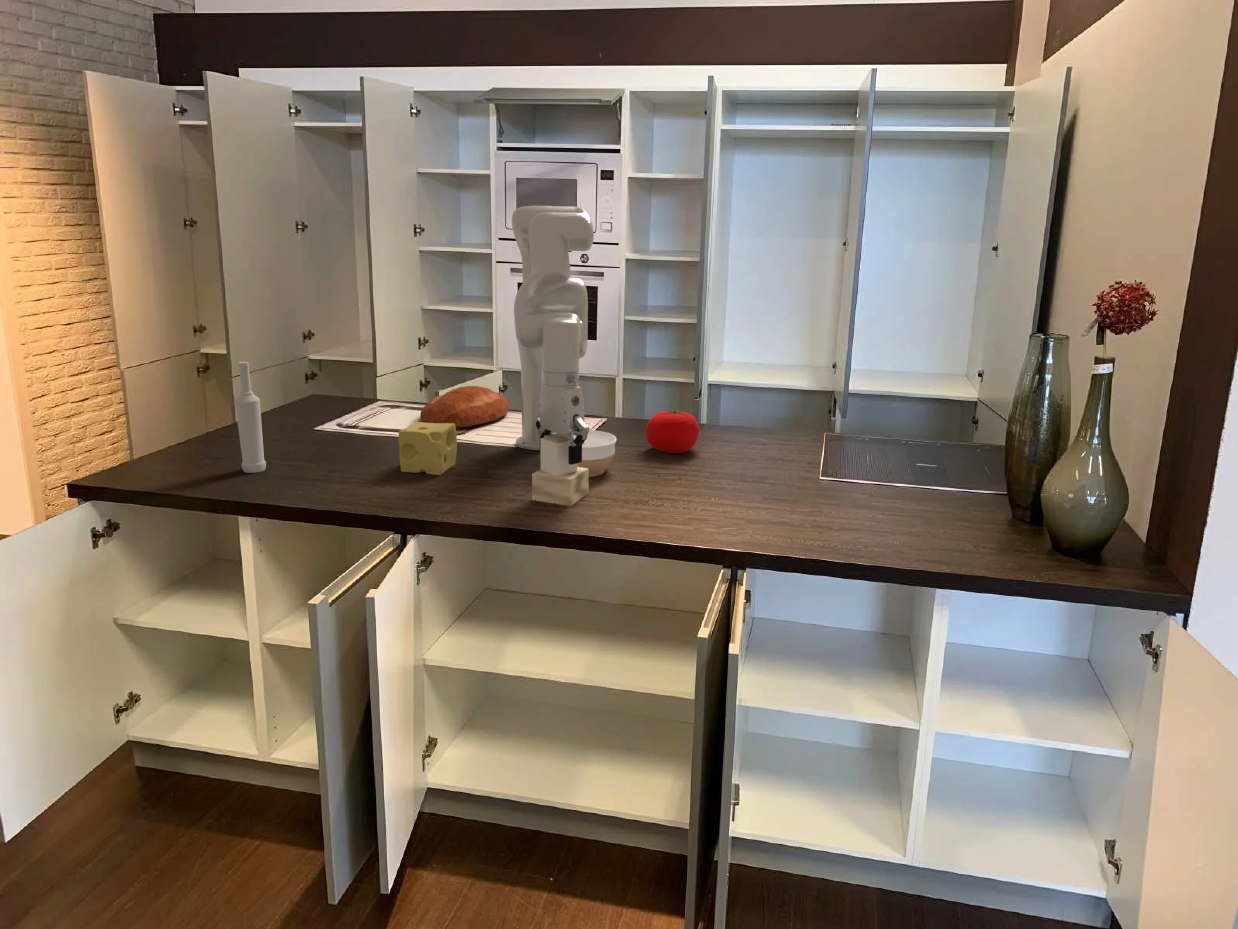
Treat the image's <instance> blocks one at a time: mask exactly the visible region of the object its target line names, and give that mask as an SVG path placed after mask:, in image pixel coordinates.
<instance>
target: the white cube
mask: <svg viewBox="0 0 1238 929" xmlns="http://www.w3.org/2000/svg"><path fill="white" fill-rule="evenodd" d="M540 440H541V454H540V469H541V471H544V472H547V473H550V474H552V475H555V476H560V475H564V474H568V473H572V472H577V464H572V465H571V464H569V463H568V447H569V446H570V445H571V444H570V442H569V440H568V438H567V436H566V435H562V434H559V433H556V434H551V435H546V436H544V438H540Z"/></svg>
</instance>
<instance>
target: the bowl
mask: <svg viewBox="0 0 1238 929" xmlns="http://www.w3.org/2000/svg"><path fill="white" fill-rule="evenodd" d="M570 431H571V430H570ZM554 434H556V433H554ZM573 437H574V439H575V438H576V436H575V435H573ZM616 442H617V437H616V436H615V435H614V434H612V433H610V432H606V431H601V430H595V429H589V432H588V435H587V439H586V440H585V441H584V444H583V445H582V462H581V463H577V467H582V468H589V478H592V477H597V476H600V475H602V474H604V473H605V471H606V470H607V468H608V467H609V466H610V465H611V464H612V462H613V461H614V458H615V452H616V449H615V448H616V447H615V445H616Z"/></svg>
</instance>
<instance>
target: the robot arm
mask: <svg viewBox="0 0 1238 929" xmlns="http://www.w3.org/2000/svg"><path fill="white" fill-rule="evenodd" d="M511 226H512V232H513V235H514V236H513V237H514V239H515V242H516V244H517V247H518V249H519V251H520V256H521V264H522V268H521V270H522V271H521V272H522V284H521V285H520V287H519V289H518V291H517V293H516V295H515V299H514V303H513V304H514V305H513V316H514V318H513V319H514V331H515V337H516V342H517V347H518V354H519V359H520V360H519V362H520V376H521V377H520V379H521V380H520V381H521V382H520V383H521V386H520V387H521V435H520V436H519V437H517V439H516V440H515V444H516V446H517V447H519V448H521V449H525V450H529V451H530V450H531V451H539V454H540V455H541V440H540V438H544V436H546V435H551V434H554V433H559V434H562V435H566V436H567V438H568V440H569V442H570V444H571V445H570V446H569V447H568V463H569V464H571V465H572V464H577V463H581V462H582V445H583V444H584V441H585V440H586V439H587V435H588V432H589V430H590V427H589V425H588V424H587V423H586V422H585V408H584V407H585V404H584V395H583V391H582V387H581V386H579V385H580V359H582V358H583V357H585V356H586V354H587V350H588V339H589V338H588V336H589V335H588V333H589V332H588V327H589V326H588V321H589V320H588V318H589V317H588V311H589V310H588V309H589V303H588V290H587V286H586V283H585V282H584V280H582V279H580V278H578V277H573V276H572V277H571V274H572V272H571V265H570V264H571V263H570V255H569V252H587V251H589V250H590V249H591V248H592V247H593V243H594V239H595V236H594V233H595V231H594V226H593V222H592V219H591V217H590V215H589V213H587V211H586V210H585V209H584V208H583V207H581V206H571V205H570V206H563V205H562V206H561V205H560V206H559V205H555V206H554V205H526V206H525V205H524V206H520V207H517V208H516V209H514V211H513V213H512V216H511ZM570 430H571V431H570ZM573 435H575V436H576V438H575V439H574V437H573Z"/></svg>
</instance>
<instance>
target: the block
mask: <svg viewBox="0 0 1238 929" xmlns="http://www.w3.org/2000/svg"><path fill="white" fill-rule="evenodd" d="M589 479H590V477H589V468H582V467H577V472H572V473H568V474H564V475H560V476H555V475H552V474H550V473H547V472H544V471H541V468H540V469H539V470H537V471H535V472H533V473H532V474H531V500H532V501H535V500H536V501H537V502H542V503H549V504H554V503H555V505H560V506H561V505H562V506H568V507H572V506H573V505H575V504H576V503H577V502H579V501H581V500H582V499H583V498H585V497H586V496H588V495H589V492H590V490H589Z"/></svg>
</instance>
